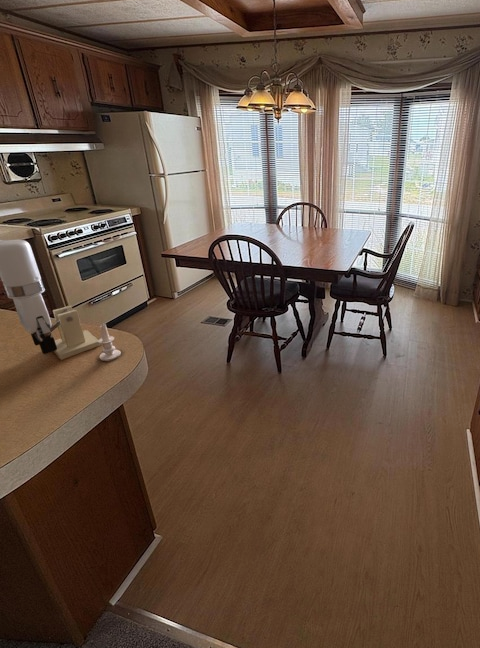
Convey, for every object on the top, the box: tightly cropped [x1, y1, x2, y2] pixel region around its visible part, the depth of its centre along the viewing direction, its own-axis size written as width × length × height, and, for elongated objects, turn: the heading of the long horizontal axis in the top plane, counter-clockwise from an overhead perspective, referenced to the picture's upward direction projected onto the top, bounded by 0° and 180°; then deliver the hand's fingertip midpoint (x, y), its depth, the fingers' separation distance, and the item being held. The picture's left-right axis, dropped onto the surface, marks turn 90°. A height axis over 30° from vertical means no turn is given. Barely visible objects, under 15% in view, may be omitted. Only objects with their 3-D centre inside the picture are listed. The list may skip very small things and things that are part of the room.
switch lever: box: [33, 309, 69, 341], centre depth 95 cm, size 10×6×2 cm, turn 141°
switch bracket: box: [52, 305, 101, 360], centre depth 99 cm, size 10×10×12 cm
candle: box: [98, 323, 122, 362], centre depth 95 cm, size 5×5×10 cm
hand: (46, 346), depth 95 cm, fingers closed on switch lever, 6 cm apart
